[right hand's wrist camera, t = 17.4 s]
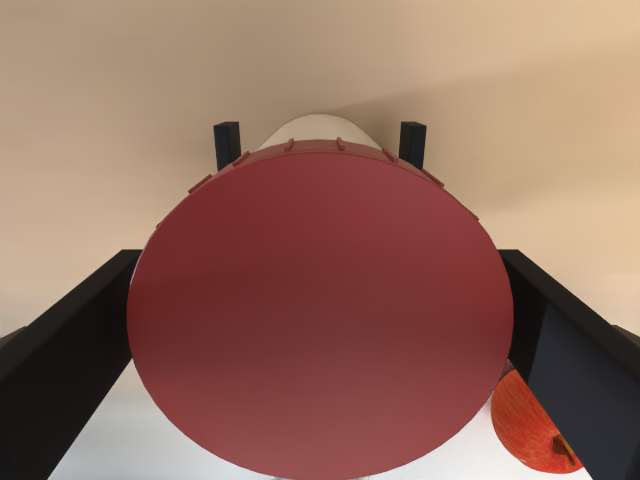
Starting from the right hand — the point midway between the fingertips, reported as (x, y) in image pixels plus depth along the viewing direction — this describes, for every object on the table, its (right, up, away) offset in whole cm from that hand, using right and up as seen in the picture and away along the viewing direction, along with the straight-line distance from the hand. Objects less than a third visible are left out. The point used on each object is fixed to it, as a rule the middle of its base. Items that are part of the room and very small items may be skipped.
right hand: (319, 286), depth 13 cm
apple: (+18, -11, +22) cm, 31 cm away
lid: (0, -1, -3) cm, 3 cm away
